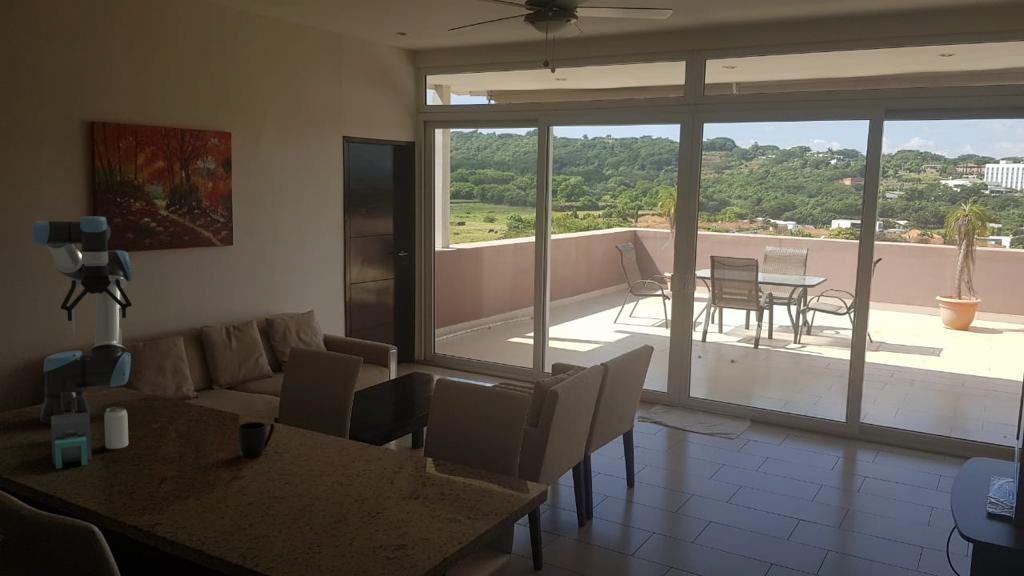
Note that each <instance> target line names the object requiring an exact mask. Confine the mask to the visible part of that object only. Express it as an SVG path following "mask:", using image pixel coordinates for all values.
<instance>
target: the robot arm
mask: <svg viewBox="0 0 1024 576" xmlns="http://www.w3.org/2000/svg"><path fill="white" fill-rule="evenodd" d="M32 225H33V226H32V238H33V242H34V243H35V244H36V245H46V247H47V249H48V250H49V252H50V254H51V255H52V257H53V259H52V262H53V265H54V268H55V269H56V270H57V271H58V272H59V273H60V274H61V275H63V276H65V277H67V278H69V279H72V280H71V284H70V286H71V287H70V288H69V289H68V291H67V293H66V295H65V298H64V300H63V302H62V303H61V304H60V309H61V310H64V311H66V312H67V320H68V322H71V328H72V329H71V331H72V332H76V320H75V319H76V318H75V316H76V315H75V310H74V308H75V307H76V306H77V305H78V304H79V303H80V301H82V299H83V298H84V297H85V296H86V295H87V294H88V293H89V294H91V295H92V294H96V308H95V309H96V315H95V317H96V318H95V336H94V337H95V340H94V341H95V343H94V346H92V347H91V348H90V351H89V354H83V351H81V350H78V349H77V350H75V349H74V350H68V351H61V352H57V353H53V354H51V355H48V356H46V357H45V359H44V361H43V370H42V371H43V374H44V375H43V378H44V394H45V395H44V396H45V399H44V401H43V405H42V407H41V408H42V409H41V412H40V414H39V418H40V422H41V423H42V424H46V425H51V416H55V415H64V412H62V411H61V392H63V391H71V390H73V391H76V395H77V410H76V411H75V413H84V412H89V416H90V417H91V410H90V407H89V405H88V403H87V401H86V400H87V399H86V396H85V395H84V389H87V388H89V389H91V388H92V389H93V388H109V387H111V388H113V387H121V386H124V385H126V384H127V382H128V380H129V376H130V373H131V362H132V355H131V353H130V352H127V348H126V347H125V346H124V345H123V329H124V328H123V319H126V317H127V308H129V307H131V306H132V302H131V300H130V299H129V298H128V295H127V294H126V292H125V291H124V289H126V288H127V286H128V283H129V282H131V281H132V280H133V277H132V270H131V264H130V263H131V262H130V257H129V253H128V252H127V251H125V250H116V249H114V250H108V249H109V248H108V241H109V239H110V237H111V231H112V230H111V228H110V226H109V225H108V222H107V218H106V217H105V216H99V215H98V216H97V215H96V216H92V215H91V216H82V217H81V218H80V221H79V220H78V221H77V220H76V221H68V220H65V221H64V220H63V221H62V220H39V221H35V222H34V223H32ZM75 245H81V250H78V249H76V246H75ZM80 285H81V286H82V288H84V289H83V290H82V291H81V292H80V293H79V294H78V296H77V297H76V298H75V299H74V300H73V301H72V302H71V303H70V304H69V305H68V303H69V302H70V300H71V298H72V296H73V294H74V292H75V291H76V288H78V287H80ZM124 302H125V303H124Z"/></svg>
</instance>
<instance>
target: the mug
mask: <svg viewBox="0 0 1024 576" xmlns="http://www.w3.org/2000/svg"><path fill="white" fill-rule="evenodd" d="M269 425H270V427H269V431H268V434H267V427H268V426H269ZM274 428H275V425H274V423H273V422H272V421H271V422H266V423H265V422H260V421H252V422H251V421H250V422H245V423H240V424H239V425H237V437H238V439H237V440H238V445H239V448H240V451H241V453H242V454H241V455H242V458H243V459H251V460H254V459H258V458H260V456H261V457H262V456H263V452H264V450H265V449H266V448H267V447H268V444H269V442H270V440H271V438H272V435H273V434H274V433H273V432H274V430H275V429H274Z"/></svg>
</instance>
